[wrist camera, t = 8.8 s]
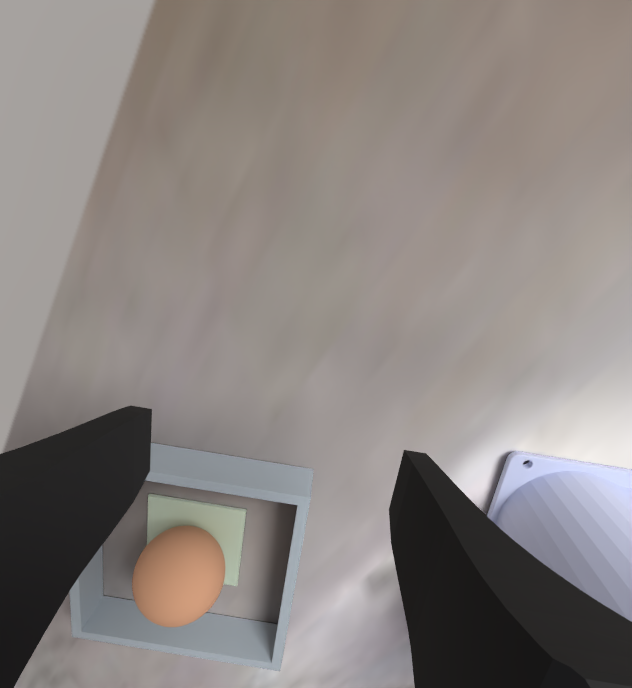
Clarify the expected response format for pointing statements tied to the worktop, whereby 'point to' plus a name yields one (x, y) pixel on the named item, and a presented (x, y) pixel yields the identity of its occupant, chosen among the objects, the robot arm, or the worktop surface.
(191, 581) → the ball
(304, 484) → the grey shallow square tray
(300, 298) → the worktop surface
